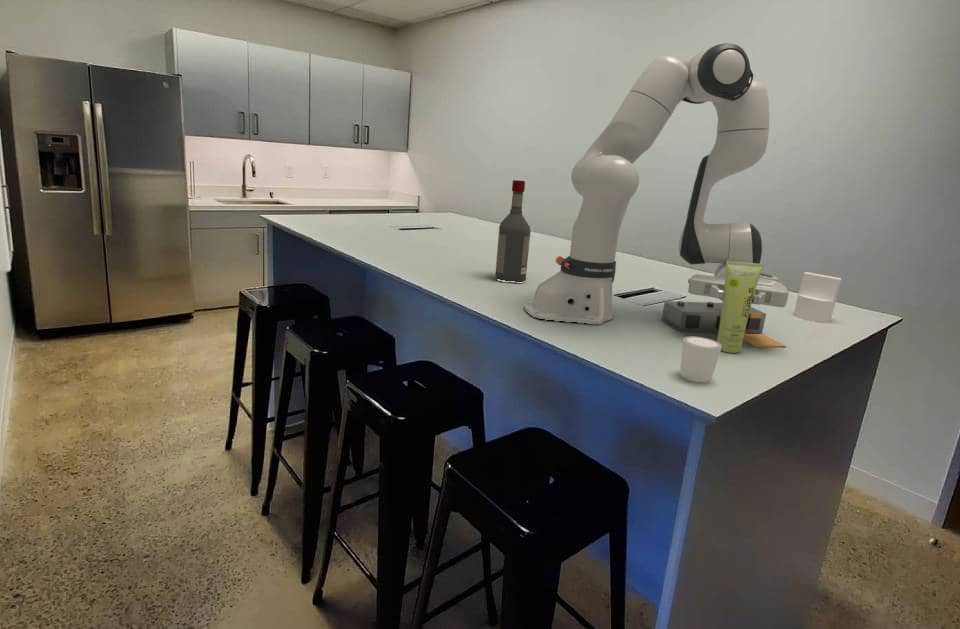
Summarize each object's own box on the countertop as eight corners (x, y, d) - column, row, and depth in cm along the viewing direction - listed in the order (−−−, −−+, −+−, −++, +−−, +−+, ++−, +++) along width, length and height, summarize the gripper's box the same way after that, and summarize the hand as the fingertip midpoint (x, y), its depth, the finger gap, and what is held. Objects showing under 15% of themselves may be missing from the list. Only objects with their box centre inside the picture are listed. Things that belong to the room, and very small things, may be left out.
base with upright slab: (789, 316, 155) (799, 274, 152) (798, 311, 162) (808, 270, 158) (826, 324, 149) (837, 281, 146) (833, 319, 156) (844, 277, 152)
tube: (730, 355, 119) (749, 265, 113) (709, 348, 123) (726, 260, 117) (745, 351, 122) (763, 263, 117) (723, 344, 126) (741, 259, 121)
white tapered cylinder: (710, 387, 101) (718, 351, 99) (672, 377, 105) (679, 341, 103) (717, 376, 107) (725, 341, 105) (681, 366, 110) (687, 333, 108)
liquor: (495, 282, 169) (504, 180, 160) (495, 275, 177) (502, 178, 169) (525, 284, 169) (535, 182, 160) (523, 277, 178) (533, 181, 169)
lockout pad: (754, 347, 126) (754, 345, 126) (733, 335, 134) (733, 333, 133) (785, 347, 127) (786, 345, 127) (763, 335, 135) (763, 334, 135)
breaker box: (680, 332, 133) (684, 309, 131) (661, 320, 142) (665, 298, 140) (763, 334, 136) (768, 312, 135) (740, 322, 145) (744, 301, 144)
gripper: (690, 265, 133) (689, 276, 121) (785, 278, 127) (794, 290, 114) (685, 291, 135) (684, 304, 123) (779, 305, 129) (787, 320, 116)
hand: (738, 297), depth 119 cm, fingers closed on tube, 6 cm apart
